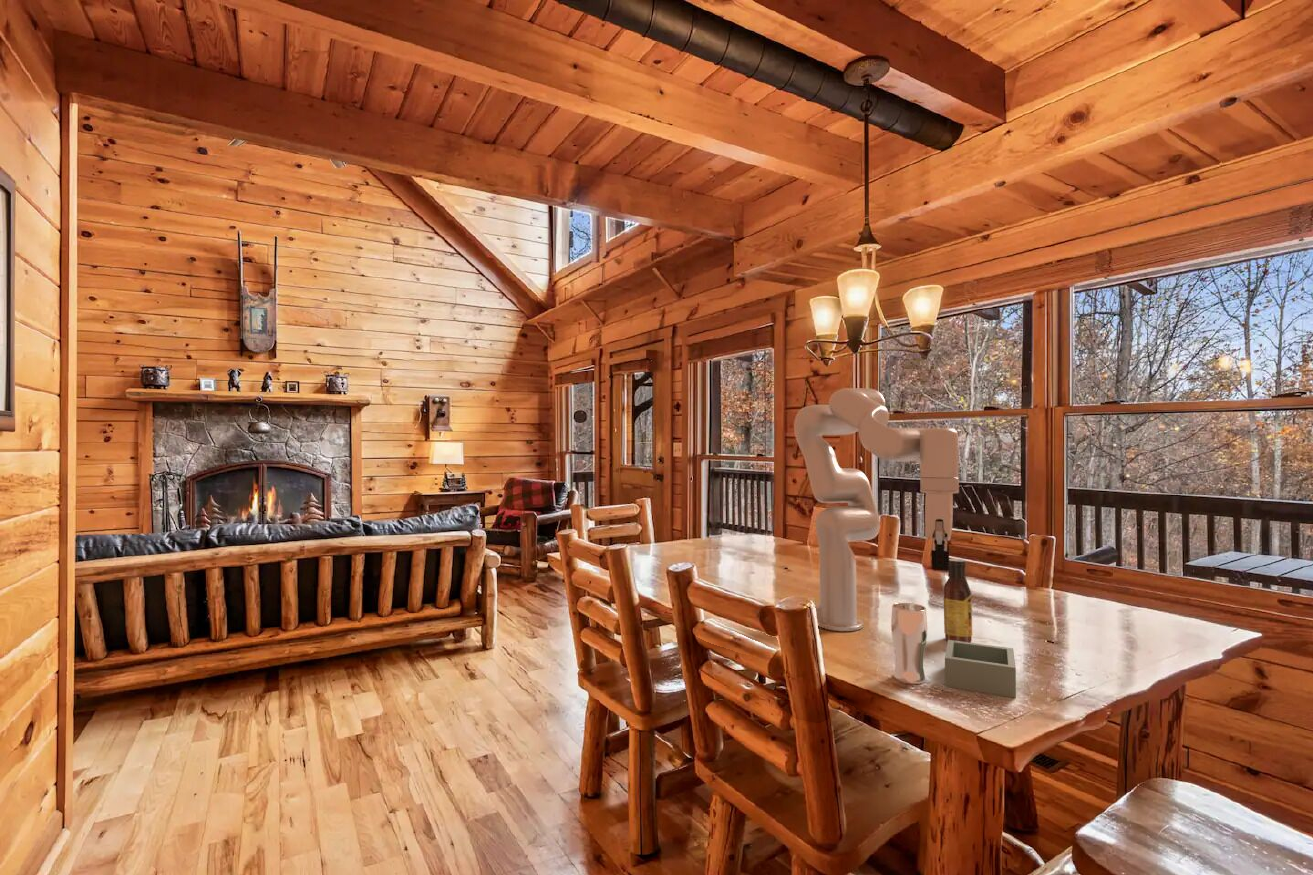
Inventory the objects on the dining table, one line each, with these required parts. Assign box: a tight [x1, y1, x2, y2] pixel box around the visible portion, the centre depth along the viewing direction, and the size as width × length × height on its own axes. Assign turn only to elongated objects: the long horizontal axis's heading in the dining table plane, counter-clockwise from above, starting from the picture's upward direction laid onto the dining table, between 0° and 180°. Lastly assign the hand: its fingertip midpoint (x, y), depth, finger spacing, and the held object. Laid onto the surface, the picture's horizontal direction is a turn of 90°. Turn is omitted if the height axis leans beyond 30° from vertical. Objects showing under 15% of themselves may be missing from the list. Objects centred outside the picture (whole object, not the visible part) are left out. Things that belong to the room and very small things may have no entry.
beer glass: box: [890, 602, 928, 685], centre depth 130 cm, size 7×7×15 cm
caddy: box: [944, 640, 1017, 699], centre depth 128 cm, size 12×12×6 cm
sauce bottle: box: [943, 558, 973, 643], centre depth 154 cm, size 6×6×20 cm
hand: (940, 565), depth 133 cm, fingers open, 9 cm apart
